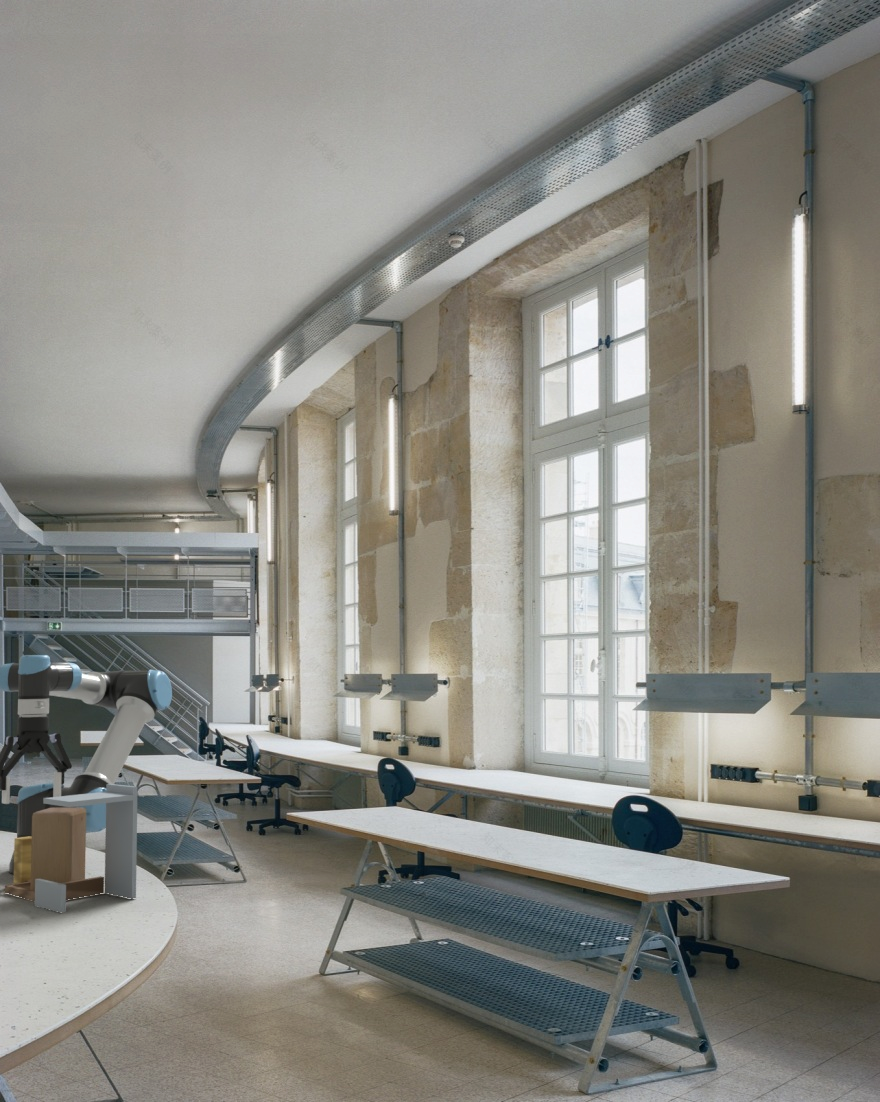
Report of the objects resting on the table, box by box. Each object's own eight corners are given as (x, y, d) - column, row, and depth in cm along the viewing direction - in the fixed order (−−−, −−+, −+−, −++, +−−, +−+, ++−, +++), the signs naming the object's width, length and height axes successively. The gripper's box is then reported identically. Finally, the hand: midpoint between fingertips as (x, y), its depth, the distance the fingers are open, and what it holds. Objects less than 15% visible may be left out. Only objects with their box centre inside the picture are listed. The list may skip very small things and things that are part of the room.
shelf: (34, 906, 254) (37, 790, 257) (108, 892, 268) (110, 783, 270) (60, 913, 246) (63, 794, 248) (135, 899, 260) (137, 786, 262)
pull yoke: (-8, 890, 272) (-7, 841, 274) (48, 881, 284) (49, 833, 285) (45, 904, 255) (47, 851, 256) (103, 894, 266) (104, 843, 268)
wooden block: (86, 890, 271) (87, 806, 273) (69, 898, 261) (70, 812, 263) (47, 889, 271) (48, 807, 274) (28, 898, 262) (30, 812, 264)
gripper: (-9, 718, 270) (-11, 807, 267) (86, 713, 288) (84, 796, 285) (-22, 717, 275) (-24, 804, 273) (71, 713, 293) (70, 794, 291)
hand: (31, 800), depth 279 cm, fingers open, 13 cm apart
